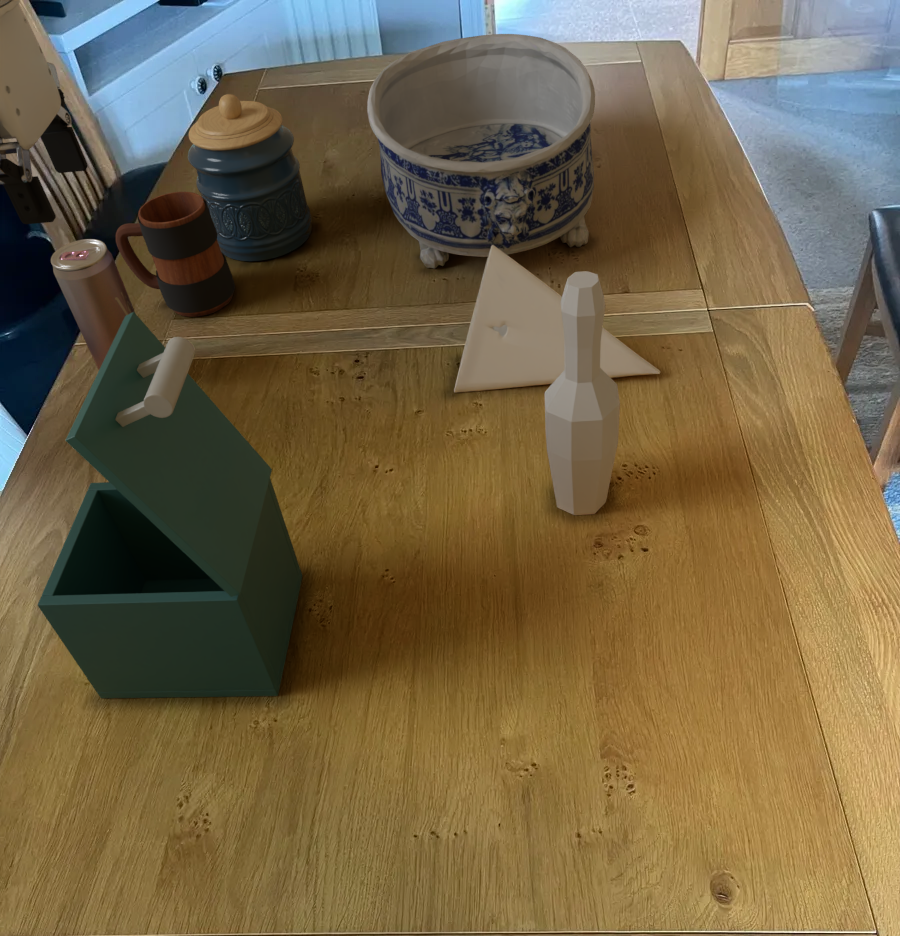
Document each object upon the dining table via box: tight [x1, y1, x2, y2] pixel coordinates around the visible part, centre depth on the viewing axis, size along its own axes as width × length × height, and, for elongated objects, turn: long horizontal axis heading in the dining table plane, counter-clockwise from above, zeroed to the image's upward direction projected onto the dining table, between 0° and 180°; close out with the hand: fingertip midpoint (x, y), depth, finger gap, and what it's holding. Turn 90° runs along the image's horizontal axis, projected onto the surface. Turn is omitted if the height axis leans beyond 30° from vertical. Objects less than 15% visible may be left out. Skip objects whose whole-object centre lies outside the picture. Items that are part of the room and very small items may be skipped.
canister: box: [187, 93, 313, 262], centre depth 116 cm, size 13×13×18 cm
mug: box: [115, 191, 236, 318], centre depth 110 cm, size 9×12×12 cm
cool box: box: [37, 478, 303, 699], centre depth 75 cm, size 15×13×12 cm
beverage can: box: [50, 238, 137, 371], centre depth 99 cm, size 6×6×15 cm
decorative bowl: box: [366, 33, 596, 269], centre depth 115 cm, size 42×27×15 cm, turn 9°
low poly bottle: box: [544, 270, 621, 516], centre depth 77 cm, size 6×6×22 cm
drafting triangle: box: [453, 245, 661, 393], centre depth 96 cm, size 15×6×20 cm
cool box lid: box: [65, 311, 273, 597], centre depth 63 cm, size 16×13×5 cm
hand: (56, 195), depth 89 cm, fingers open, 9 cm apart
